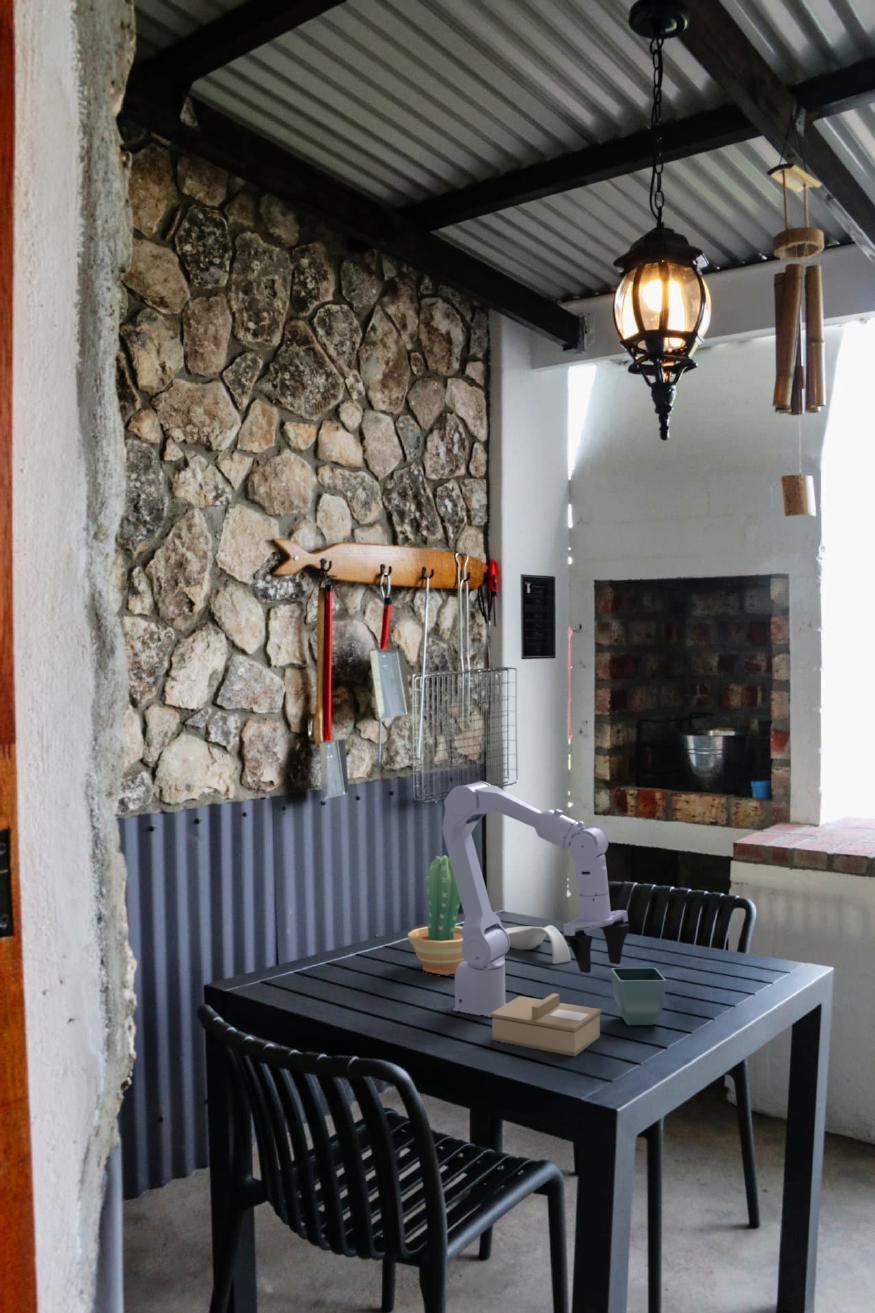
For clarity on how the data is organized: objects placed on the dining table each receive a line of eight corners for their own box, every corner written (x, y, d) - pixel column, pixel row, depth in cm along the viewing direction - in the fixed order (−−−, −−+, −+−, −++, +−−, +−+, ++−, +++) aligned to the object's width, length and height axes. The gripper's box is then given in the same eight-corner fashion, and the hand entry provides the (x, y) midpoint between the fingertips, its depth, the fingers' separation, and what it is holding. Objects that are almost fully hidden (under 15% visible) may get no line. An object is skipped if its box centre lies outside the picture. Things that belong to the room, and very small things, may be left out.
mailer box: (492, 1040, 193) (492, 1018, 193) (520, 1023, 202) (520, 1001, 202) (574, 1056, 185) (574, 1033, 185) (599, 1037, 194) (599, 1014, 194)
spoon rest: (488, 944, 261) (488, 914, 261) (530, 938, 266) (529, 909, 266) (541, 968, 240) (541, 935, 240) (585, 961, 245) (585, 929, 245)
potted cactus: (478, 979, 231) (476, 862, 231) (406, 980, 231) (404, 863, 231) (477, 960, 246) (475, 850, 246) (409, 960, 246) (408, 851, 247)
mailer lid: (490, 1016, 193) (490, 1002, 193) (519, 999, 203) (519, 985, 203) (574, 1032, 184) (574, 1016, 184) (601, 1012, 194) (601, 998, 194)
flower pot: (656, 1013, 207) (655, 966, 207) (667, 1029, 198) (667, 980, 198) (610, 1014, 207) (610, 967, 207) (620, 1030, 198) (619, 981, 198)
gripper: (579, 902, 192) (586, 979, 191) (636, 888, 200) (643, 962, 200) (553, 898, 198) (560, 973, 197) (609, 885, 206) (616, 957, 205)
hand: (600, 967), depth 199 cm, fingers open, 7 cm apart
